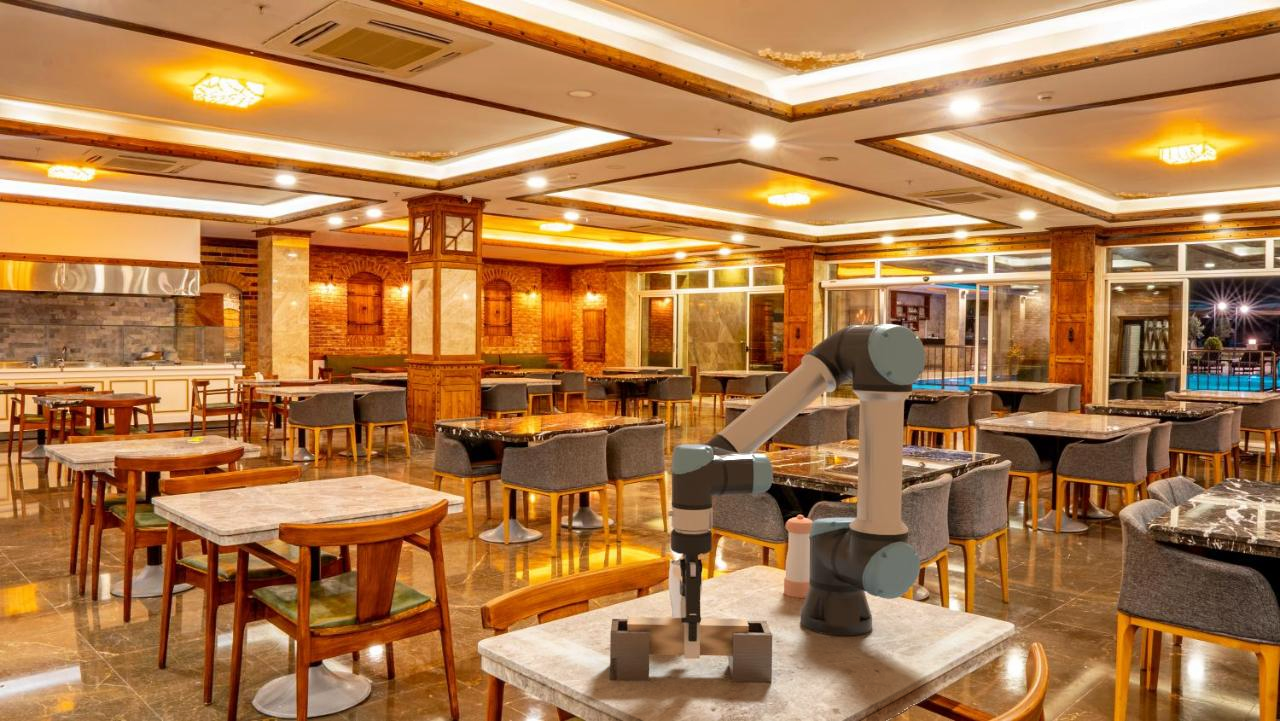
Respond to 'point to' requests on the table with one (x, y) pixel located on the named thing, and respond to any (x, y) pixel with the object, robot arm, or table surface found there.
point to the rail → (671, 634)
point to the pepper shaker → (798, 557)
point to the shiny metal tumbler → (676, 587)
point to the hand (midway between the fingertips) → (690, 644)
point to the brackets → (744, 664)
